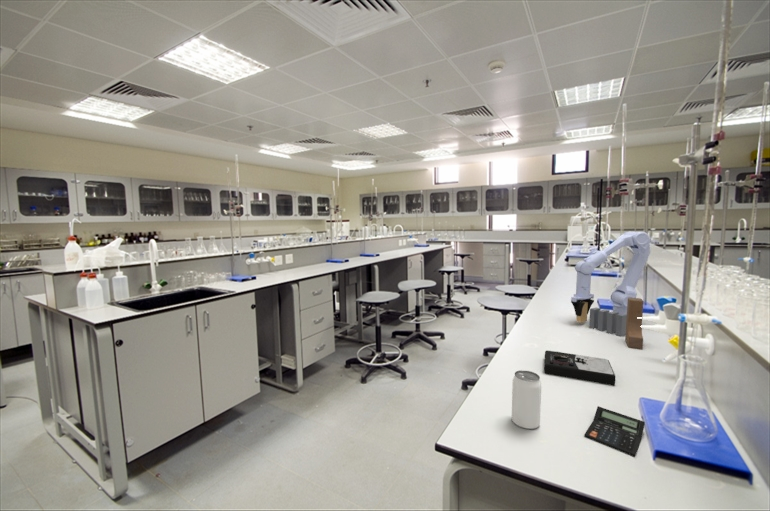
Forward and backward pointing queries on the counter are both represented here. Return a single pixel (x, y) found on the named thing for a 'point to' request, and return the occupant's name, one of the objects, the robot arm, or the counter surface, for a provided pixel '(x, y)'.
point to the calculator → (616, 431)
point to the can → (526, 399)
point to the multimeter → (579, 367)
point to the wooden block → (634, 323)
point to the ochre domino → (583, 313)
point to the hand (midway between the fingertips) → (581, 314)
